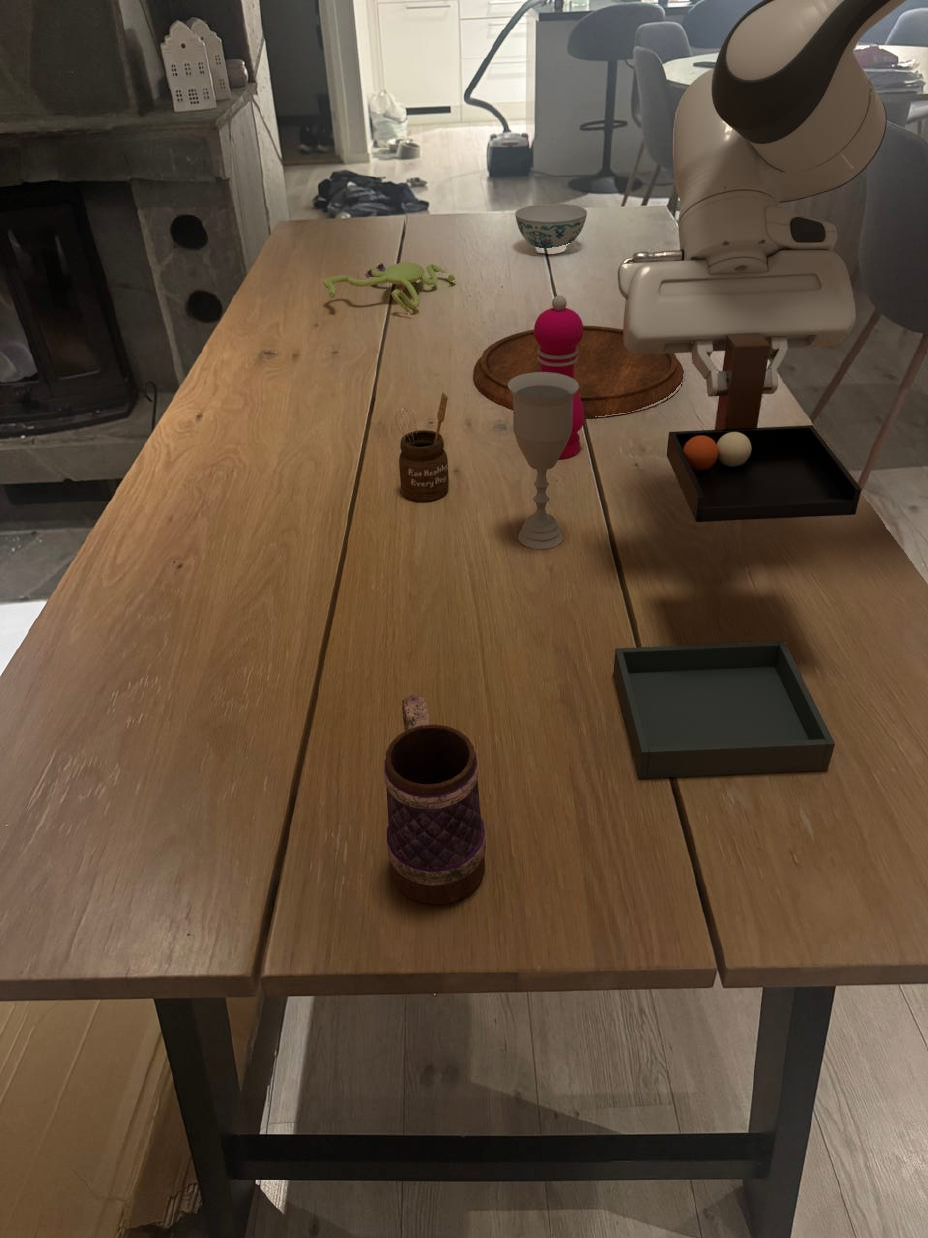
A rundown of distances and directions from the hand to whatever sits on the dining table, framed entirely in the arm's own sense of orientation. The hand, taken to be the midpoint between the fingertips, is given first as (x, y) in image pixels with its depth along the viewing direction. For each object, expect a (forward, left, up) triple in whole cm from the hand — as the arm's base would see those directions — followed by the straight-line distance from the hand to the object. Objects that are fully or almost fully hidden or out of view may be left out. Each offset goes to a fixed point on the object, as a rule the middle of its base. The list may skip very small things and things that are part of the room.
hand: (743, 393), depth 82 cm
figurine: (+37, -101, -21) cm, 109 cm away
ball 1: (+4, +5, -3) cm, 7 cm away
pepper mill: (+13, -34, -21) cm, 42 cm away
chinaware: (+4, -129, -21) cm, 131 cm away
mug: (+29, +32, -21) cm, 48 cm away
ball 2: (+1, +4, -3) cm, 6 cm away
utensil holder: (+30, -24, -21) cm, 44 cm away
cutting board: (+7, -59, -21) cm, 63 cm away
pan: (0, +5, -5) cm, 8 cm away
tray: (+5, +19, -21) cm, 29 cm away
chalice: (+17, -12, -21) cm, 30 cm away
